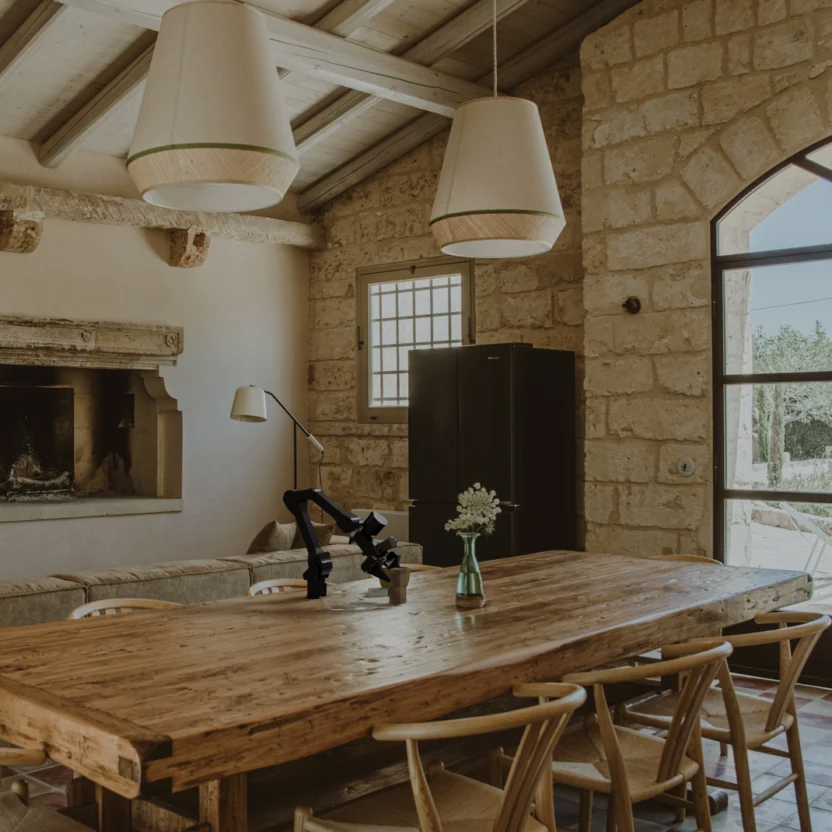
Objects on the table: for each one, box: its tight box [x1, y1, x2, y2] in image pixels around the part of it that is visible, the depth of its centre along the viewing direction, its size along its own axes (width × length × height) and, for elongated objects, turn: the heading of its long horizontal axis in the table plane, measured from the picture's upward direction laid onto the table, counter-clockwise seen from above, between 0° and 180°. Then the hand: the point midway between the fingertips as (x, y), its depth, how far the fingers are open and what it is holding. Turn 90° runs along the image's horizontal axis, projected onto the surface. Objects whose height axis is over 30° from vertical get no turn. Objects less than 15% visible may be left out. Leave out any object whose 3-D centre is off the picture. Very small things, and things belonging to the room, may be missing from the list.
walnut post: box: [388, 568, 407, 606], centre depth 335 cm, size 4×4×12 cm
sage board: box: [367, 593, 412, 603], centre depth 346 cm, size 14×16×1 cm
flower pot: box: [378, 565, 412, 589], centre depth 360 cm, size 9×9×9 cm
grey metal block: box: [367, 587, 388, 597], centre depth 350 cm, size 6×4×2 cm, turn 106°
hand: (396, 579), depth 335 cm, fingers open, 9 cm apart
